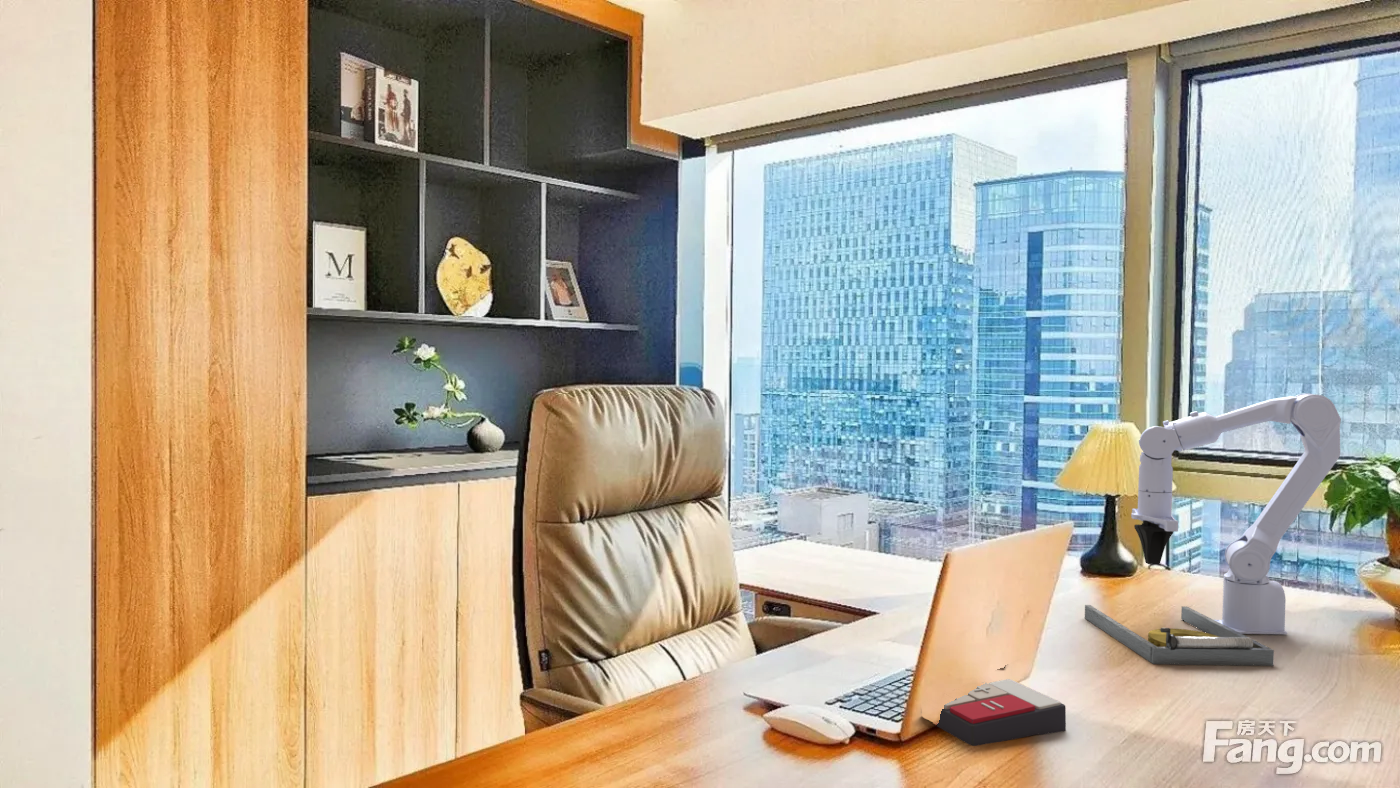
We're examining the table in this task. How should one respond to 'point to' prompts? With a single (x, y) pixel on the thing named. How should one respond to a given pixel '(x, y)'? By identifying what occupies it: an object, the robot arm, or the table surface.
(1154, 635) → the gold round shallow dish
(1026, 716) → the calculator
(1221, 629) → the bay
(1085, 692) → the table surface
